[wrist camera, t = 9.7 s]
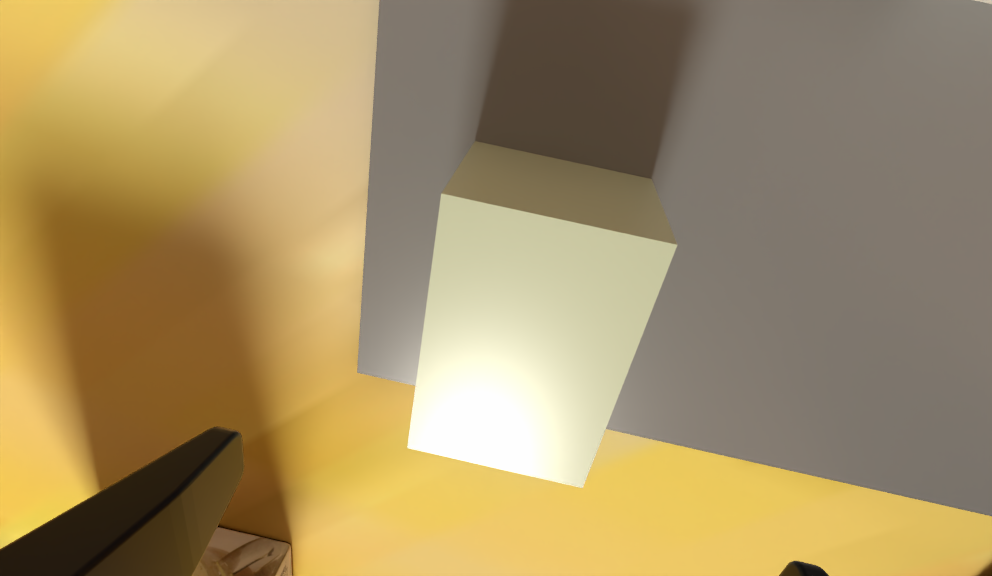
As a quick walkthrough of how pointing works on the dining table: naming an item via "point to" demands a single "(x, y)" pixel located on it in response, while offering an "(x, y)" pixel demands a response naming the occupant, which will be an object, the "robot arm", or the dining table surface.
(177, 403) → the dining table surface
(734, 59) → the baseplate
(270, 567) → the coffee box
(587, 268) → the sage brick
